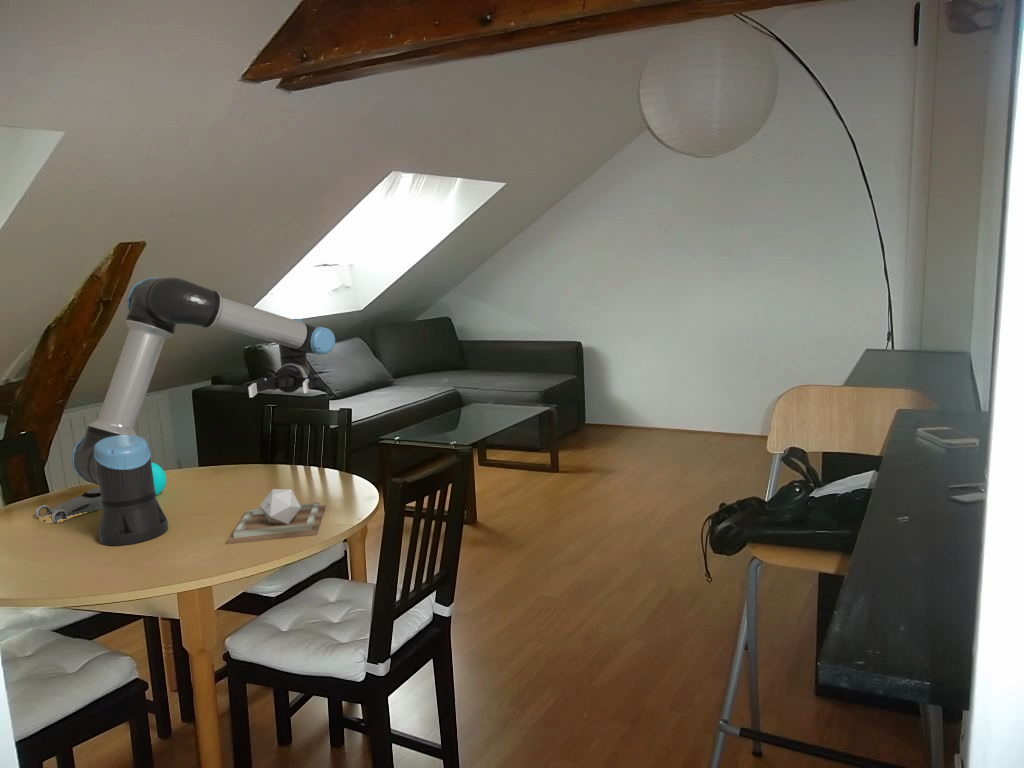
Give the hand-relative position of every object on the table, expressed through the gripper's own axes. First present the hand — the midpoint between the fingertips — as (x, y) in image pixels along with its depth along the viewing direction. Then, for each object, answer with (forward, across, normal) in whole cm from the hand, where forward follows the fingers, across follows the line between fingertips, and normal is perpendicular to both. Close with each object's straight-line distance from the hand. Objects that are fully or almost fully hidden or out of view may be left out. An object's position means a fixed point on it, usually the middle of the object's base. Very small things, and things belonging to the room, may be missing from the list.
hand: (277, 390), depth 206 cm
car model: (-13, +55, -31) cm, 64 cm away
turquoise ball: (-15, +42, -30) cm, 54 cm away
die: (+18, -1, -29) cm, 35 cm away
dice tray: (+18, 0, -30) cm, 35 cm away
